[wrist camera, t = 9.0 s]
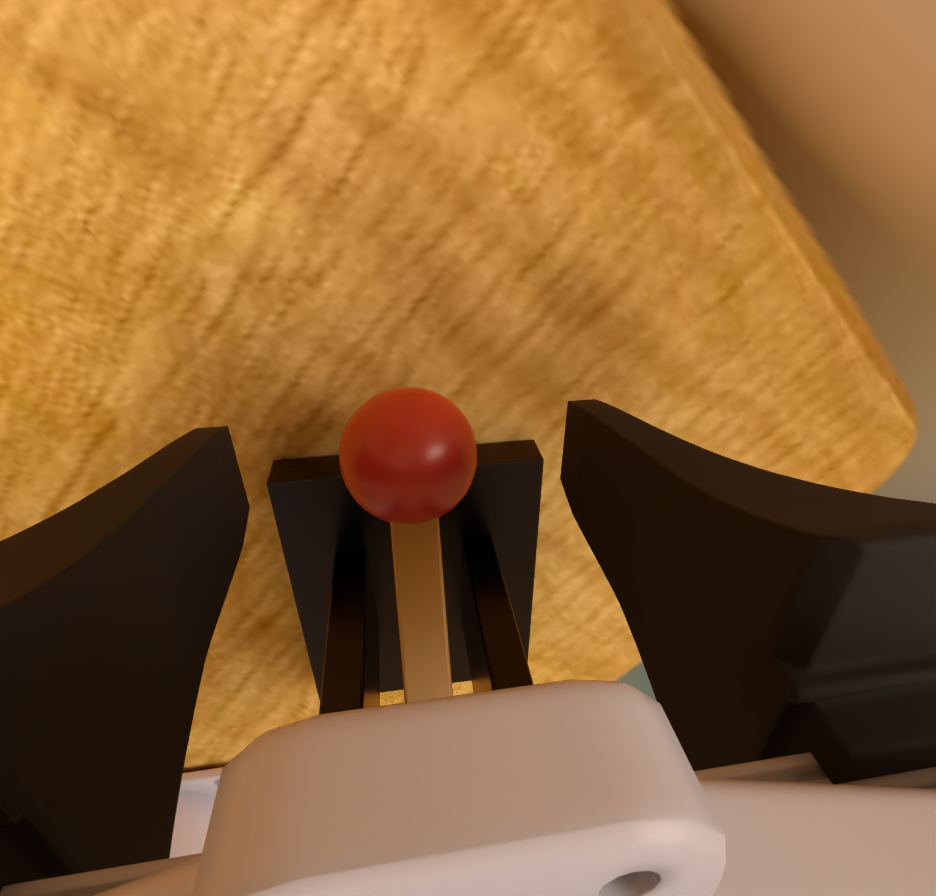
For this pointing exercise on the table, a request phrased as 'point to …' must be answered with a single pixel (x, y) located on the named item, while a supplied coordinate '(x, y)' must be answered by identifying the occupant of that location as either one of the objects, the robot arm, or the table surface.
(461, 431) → the switch lever
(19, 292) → the table surface
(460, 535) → the switch bracket
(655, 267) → the table surface
